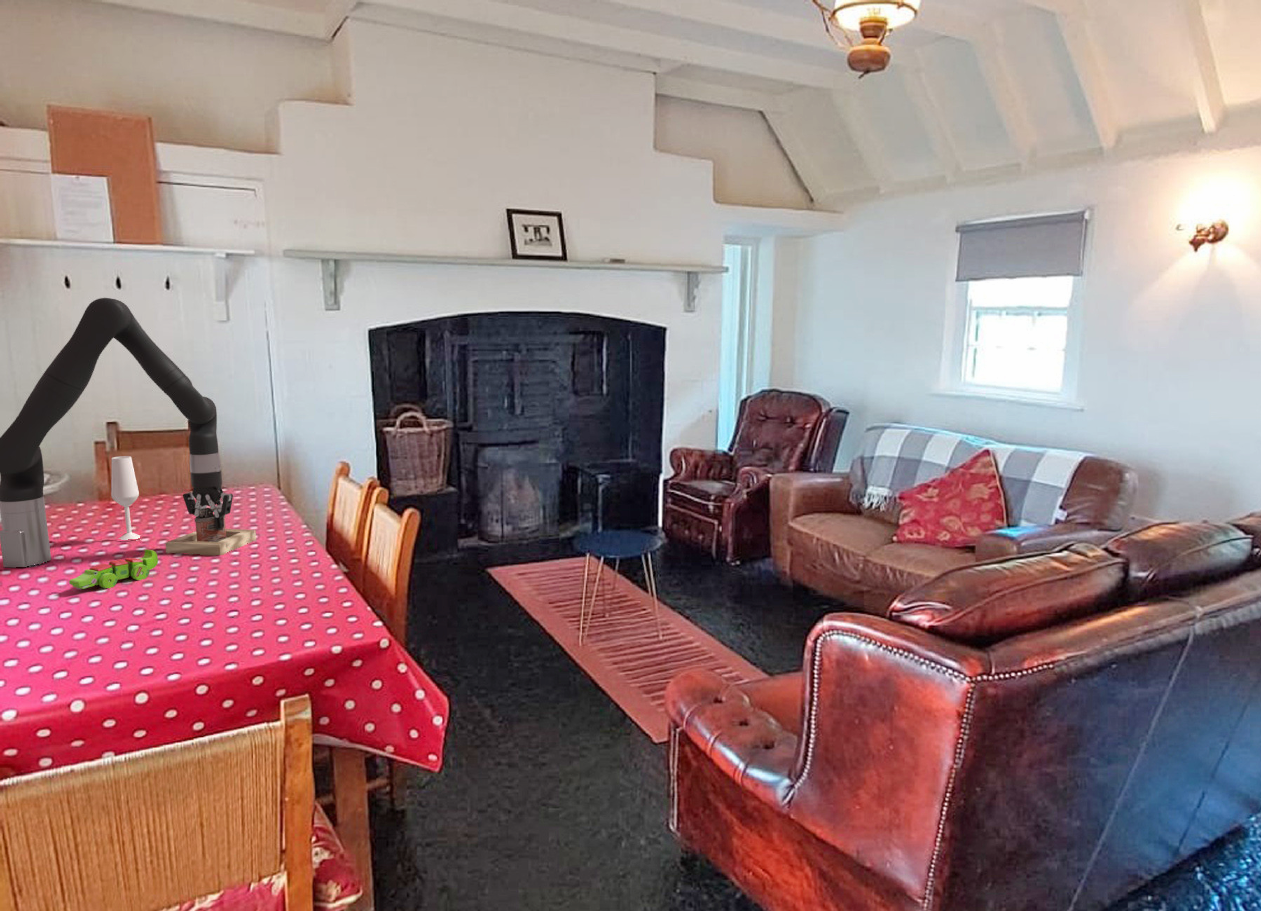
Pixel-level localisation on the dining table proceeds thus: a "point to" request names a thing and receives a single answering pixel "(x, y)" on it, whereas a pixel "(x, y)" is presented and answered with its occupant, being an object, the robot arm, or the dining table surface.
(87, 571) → the toy crocodile
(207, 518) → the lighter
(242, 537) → the square beige frame
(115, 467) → the champagne flute
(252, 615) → the dining table surface
